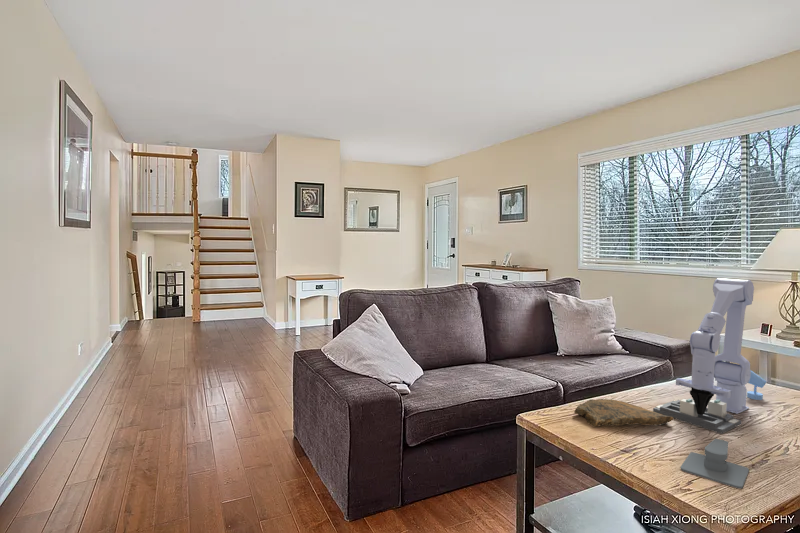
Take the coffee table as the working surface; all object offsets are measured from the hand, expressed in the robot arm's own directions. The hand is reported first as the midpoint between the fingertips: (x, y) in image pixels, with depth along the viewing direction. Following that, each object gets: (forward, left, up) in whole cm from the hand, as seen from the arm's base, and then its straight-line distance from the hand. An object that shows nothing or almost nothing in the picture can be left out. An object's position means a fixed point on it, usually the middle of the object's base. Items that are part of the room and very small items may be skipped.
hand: (700, 413), depth 140 cm
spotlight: (-42, -1, -3) cm, 42 cm away
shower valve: (+27, +15, -4) cm, 31 cm away
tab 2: (-7, +2, -2) cm, 7 cm away
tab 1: (0, -3, -2) cm, 4 cm away
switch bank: (-3, -3, -3) cm, 5 cm away
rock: (+19, -14, -4) cm, 24 cm away
